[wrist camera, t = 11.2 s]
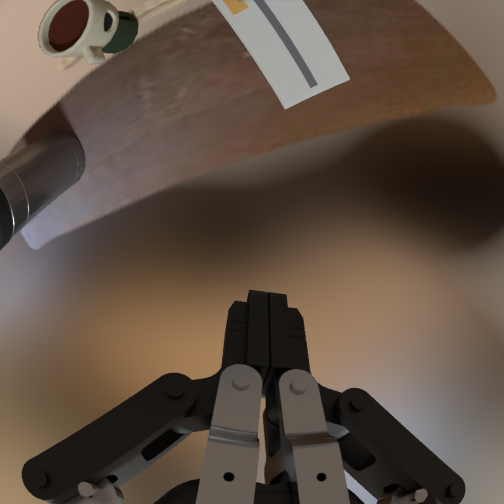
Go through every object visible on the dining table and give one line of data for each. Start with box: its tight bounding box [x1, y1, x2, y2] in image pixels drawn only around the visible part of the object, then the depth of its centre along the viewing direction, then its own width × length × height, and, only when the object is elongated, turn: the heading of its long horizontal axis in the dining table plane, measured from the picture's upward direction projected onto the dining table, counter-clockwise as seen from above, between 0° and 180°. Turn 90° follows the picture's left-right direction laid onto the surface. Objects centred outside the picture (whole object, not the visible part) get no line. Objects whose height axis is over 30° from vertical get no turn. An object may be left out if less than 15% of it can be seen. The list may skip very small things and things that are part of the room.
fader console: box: [212, 0, 350, 109], centre depth 26 cm, size 22×9×2 cm, turn 30°
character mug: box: [38, 0, 138, 64], centre depth 21 cm, size 11×7×13 cm, turn 22°
